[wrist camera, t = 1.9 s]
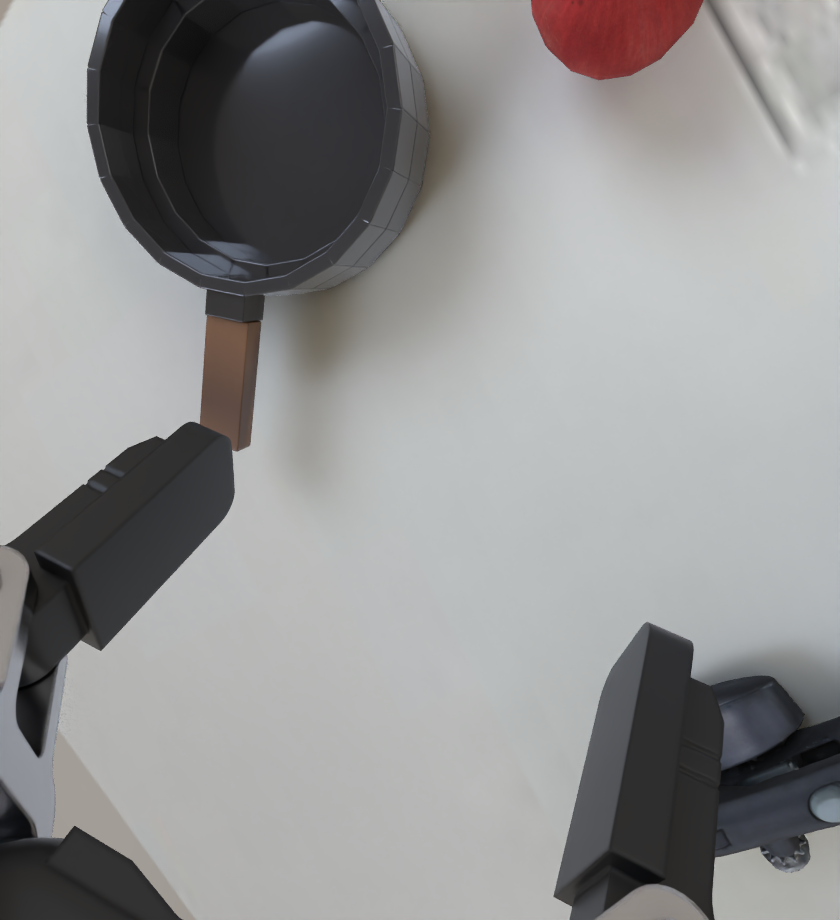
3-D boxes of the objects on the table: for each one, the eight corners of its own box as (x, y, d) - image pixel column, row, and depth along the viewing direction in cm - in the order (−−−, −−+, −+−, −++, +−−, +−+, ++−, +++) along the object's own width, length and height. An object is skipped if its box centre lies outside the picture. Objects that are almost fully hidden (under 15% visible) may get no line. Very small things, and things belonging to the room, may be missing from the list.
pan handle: (226, 285, 29) (204, 285, 27) (267, 293, 28) (247, 294, 27) (215, 434, 31) (194, 443, 29) (253, 444, 31) (234, 453, 29)
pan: (456, -15, 26) (428, -77, 21) (405, 316, 30) (371, 322, 25) (167, -41, 28) (88, -102, 24) (154, 267, 32) (84, 265, 28)
